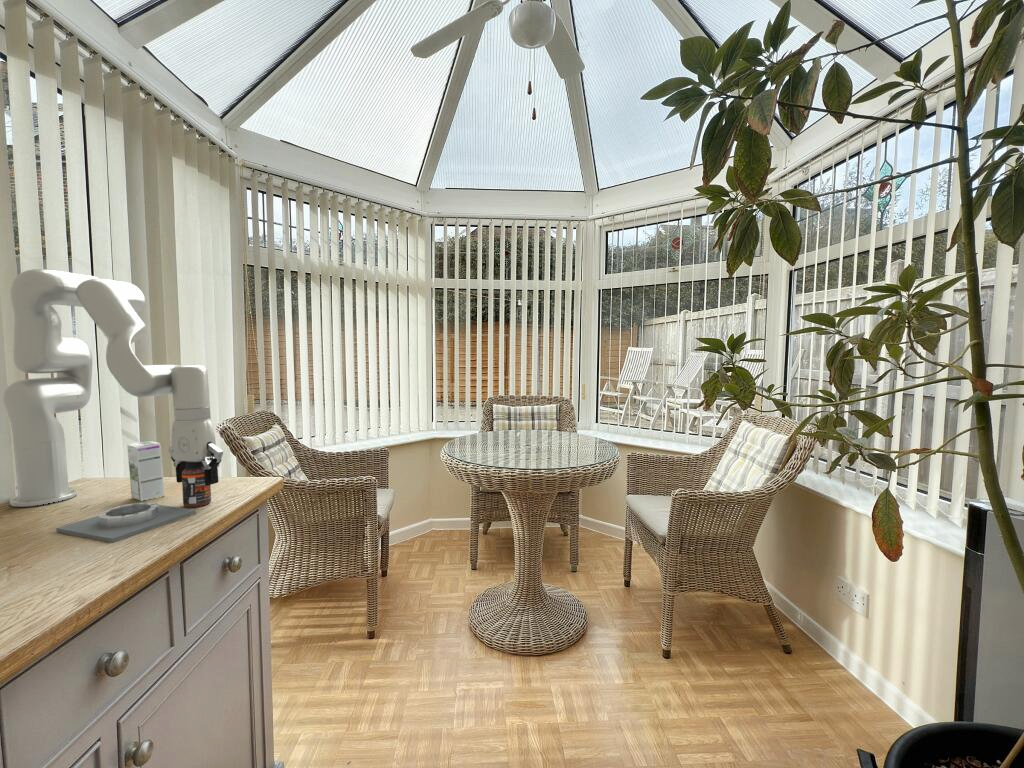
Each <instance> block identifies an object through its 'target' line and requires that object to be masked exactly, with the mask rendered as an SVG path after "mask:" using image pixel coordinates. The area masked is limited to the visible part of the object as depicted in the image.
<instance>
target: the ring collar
mask: <svg viewBox="0 0 1024 768" xmlns="http://www.w3.org/2000/svg"><path fill="white" fill-rule="evenodd" d="M157 505H158V504H157V503H155V502H148V501H147V502H134V503H128V504H122V505H118V506H115V507H111V508H108V509H106V510H103V511H102V512H100V513H99V512H98V516H99V526H102V527H108V528H109V527H123V526H128V525H134V524H139V523H142V522H145V521H148V520H151V519H153V518H155V517H156V516H158V506H157ZM132 513H136V514H132ZM127 514H131V515H127ZM122 515H125V516H122Z"/></svg>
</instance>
